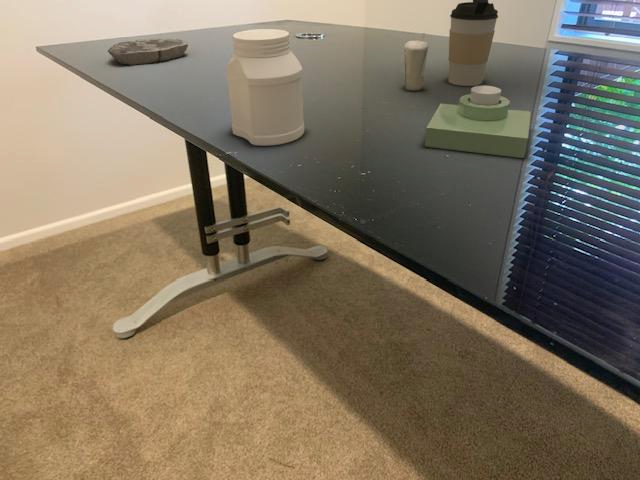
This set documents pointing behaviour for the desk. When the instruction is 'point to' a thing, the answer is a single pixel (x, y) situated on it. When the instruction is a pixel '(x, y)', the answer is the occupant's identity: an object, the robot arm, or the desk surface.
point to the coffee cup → (470, 43)
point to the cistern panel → (479, 128)
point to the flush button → (485, 95)
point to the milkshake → (415, 63)
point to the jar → (265, 88)
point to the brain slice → (148, 50)
